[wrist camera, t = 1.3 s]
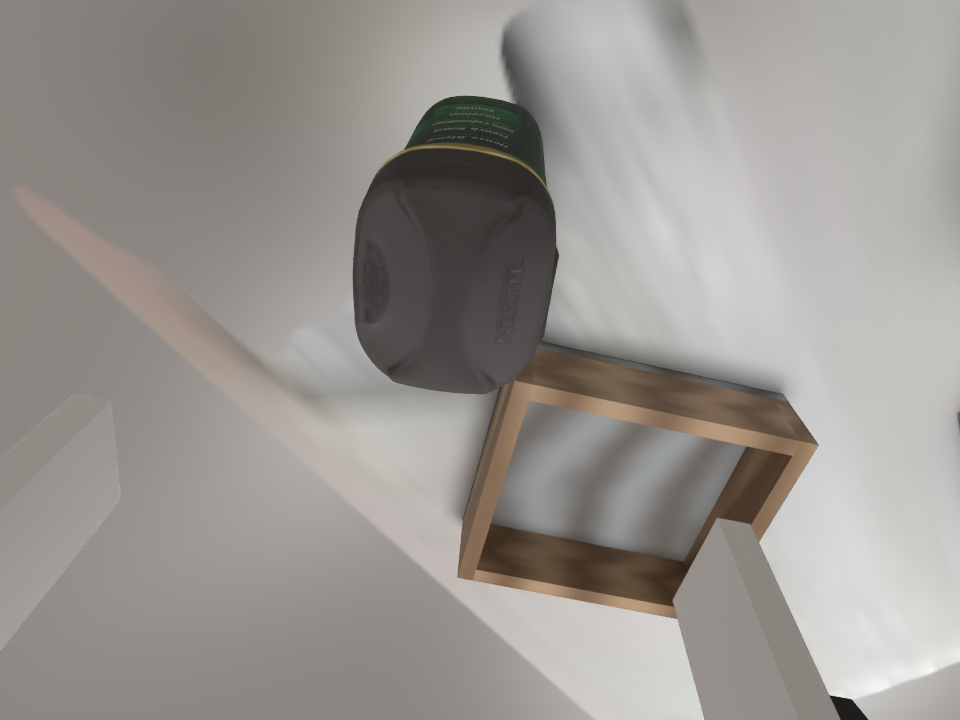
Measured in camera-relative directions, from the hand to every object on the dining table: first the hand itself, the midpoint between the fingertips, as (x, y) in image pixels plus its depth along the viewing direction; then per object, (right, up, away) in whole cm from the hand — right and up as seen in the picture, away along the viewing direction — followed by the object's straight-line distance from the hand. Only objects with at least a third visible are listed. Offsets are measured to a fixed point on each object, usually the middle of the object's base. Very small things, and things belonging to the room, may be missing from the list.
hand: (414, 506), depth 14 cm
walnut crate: (+12, -5, +35) cm, 37 cm away
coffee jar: (+1, +14, +25) cm, 29 cm away
